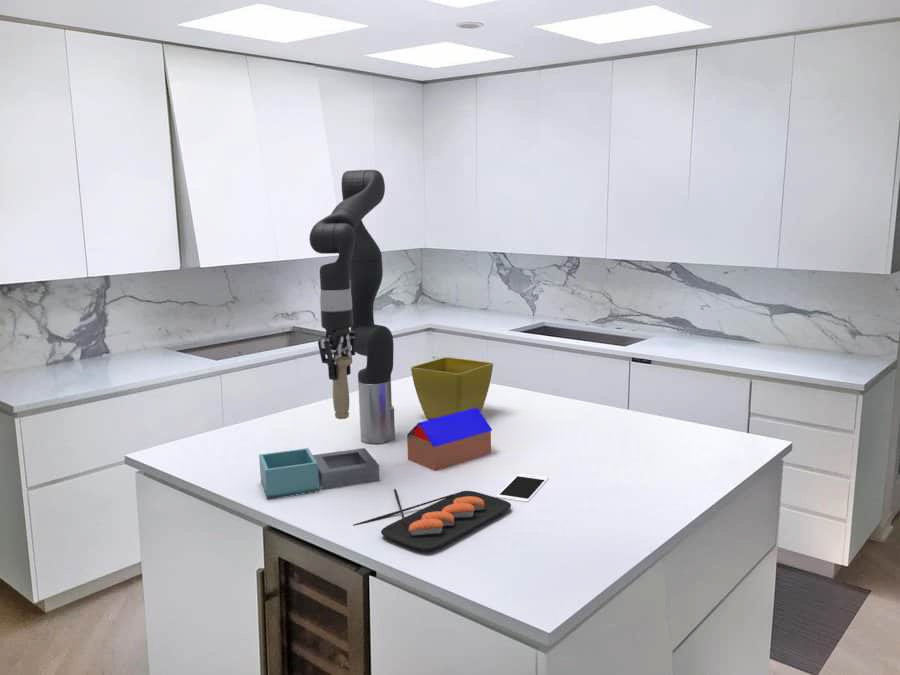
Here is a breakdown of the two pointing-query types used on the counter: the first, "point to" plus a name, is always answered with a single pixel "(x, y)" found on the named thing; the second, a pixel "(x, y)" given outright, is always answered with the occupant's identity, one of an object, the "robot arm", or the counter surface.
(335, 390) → the handle
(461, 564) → the counter surface
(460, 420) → the house
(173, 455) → the counter surface
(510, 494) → the cell phone
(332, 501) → the counter surface
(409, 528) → the sushi plate
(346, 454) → the socket block
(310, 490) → the bin
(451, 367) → the flower pot
